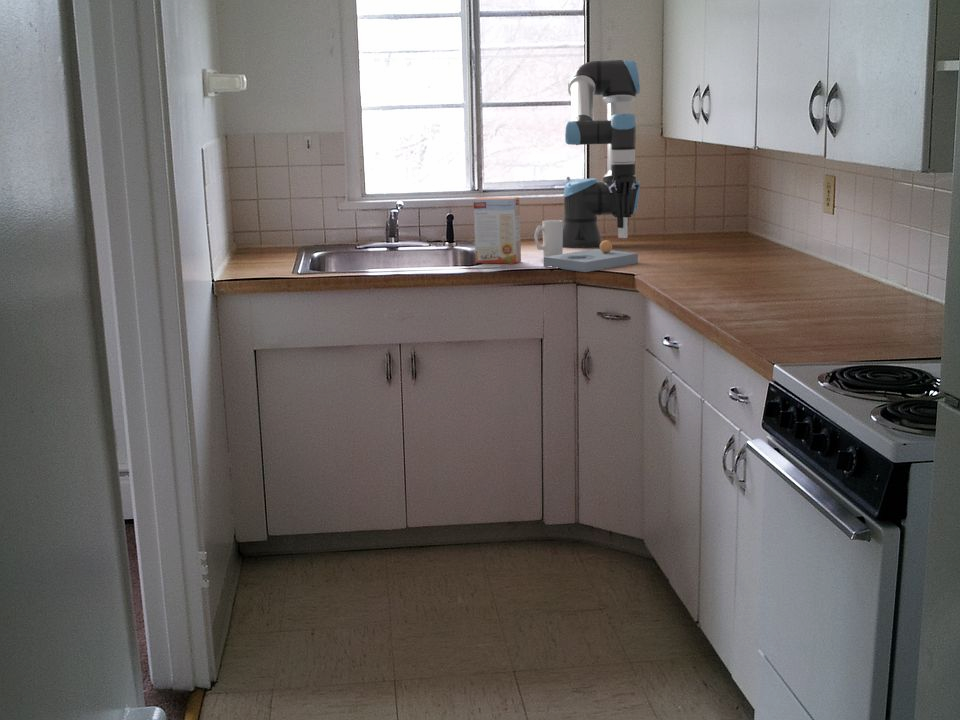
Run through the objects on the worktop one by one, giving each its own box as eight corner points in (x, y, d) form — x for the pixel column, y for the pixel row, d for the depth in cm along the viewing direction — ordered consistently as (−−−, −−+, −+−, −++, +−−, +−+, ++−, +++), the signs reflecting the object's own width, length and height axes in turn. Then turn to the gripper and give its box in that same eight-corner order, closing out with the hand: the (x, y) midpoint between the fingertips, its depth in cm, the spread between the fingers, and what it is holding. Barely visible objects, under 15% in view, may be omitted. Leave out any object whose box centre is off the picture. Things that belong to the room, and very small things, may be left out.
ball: (605, 251, 335) (605, 239, 334) (614, 252, 332) (614, 240, 331) (597, 252, 332) (597, 240, 331) (606, 254, 329) (606, 241, 328)
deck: (595, 257, 343) (595, 248, 342) (637, 262, 329) (637, 253, 329) (543, 266, 327) (543, 257, 327) (585, 272, 314) (585, 262, 313)
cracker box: (521, 261, 339) (520, 196, 334) (516, 264, 334) (515, 198, 329) (480, 260, 344) (478, 196, 339) (474, 263, 338) (473, 198, 333)
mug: (557, 255, 351) (557, 219, 349) (566, 257, 345) (566, 221, 342) (530, 257, 348) (529, 221, 345) (539, 260, 342) (538, 223, 339)
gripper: (627, 162, 337) (627, 235, 343) (600, 164, 329) (600, 238, 334) (645, 162, 332) (645, 236, 337) (618, 164, 324) (618, 240, 329)
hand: (622, 237), depth 336 cm, fingers closed
